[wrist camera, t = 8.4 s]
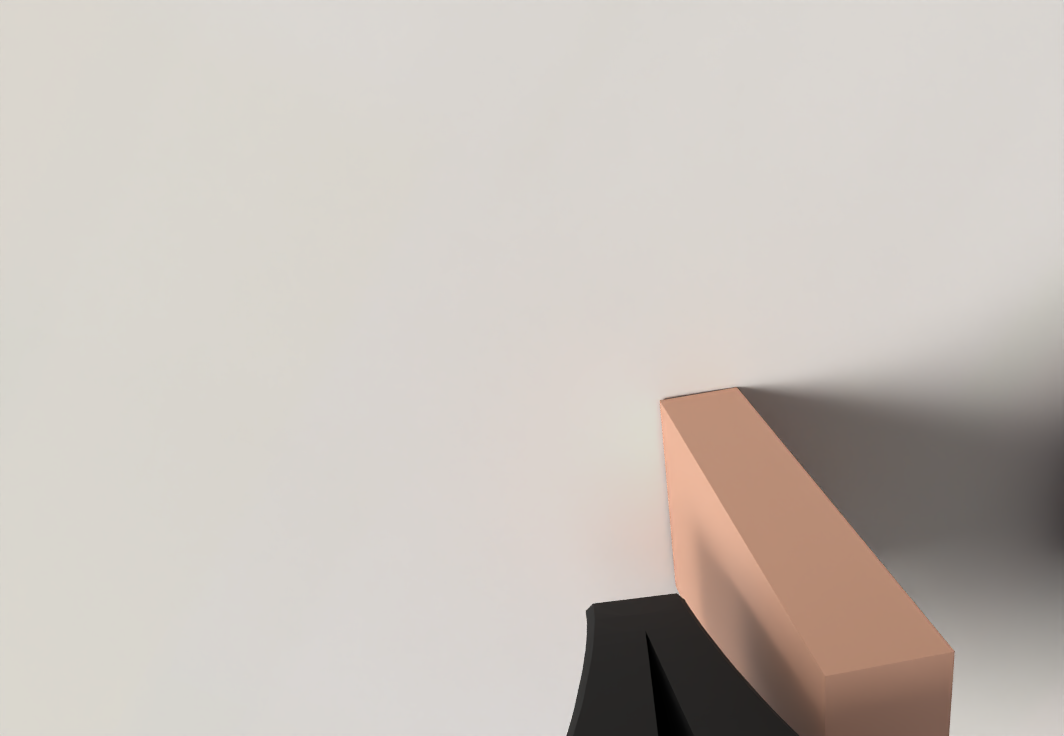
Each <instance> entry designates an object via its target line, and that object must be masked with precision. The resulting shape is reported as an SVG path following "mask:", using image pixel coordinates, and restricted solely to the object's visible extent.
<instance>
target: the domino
mask: <svg viewBox="0 0 1064 736" xmlns="http://www.w3.org/2000/svg"><path fill="white" fill-rule="evenodd" d="M660 409H661V420H662V432H663V444H664V455H665V467H666V478H667V490H668V501H669V513H670V525H671V536H672V548H673V559H674V571H675V582H676V587H677V589H678V592H679V594H680V596H681V597H682V598H683V599H685V601H686V603H687V604H688V606H689V607H690V609H691V610H692V612H693V613H694V615H695V616H696V618H697V619H698V620H699V622H700V623H701V625H702V626H703V627H704V629H705V630H706V631H707V633H708V634H709V635H710V637H711V638H712V639H713V640H714V642H715V643H716V644H717V645H718V647H719V648H720V649H721V651H722V652H723V653H724V654H725V656H726V657H727V658H728V659H729V660H730V662H731V663H732V664H733V665H734V666H735V668H736V669H737V670H738V671H739V672H740V673H741V674H742V675H743V677H744V678H745V679H746V680H747V681H748V682H749V683H750V685H751V686H752V687H753V688H754V689H755V690H756V691H757V692H758V694H759V695H760V696H761V697H762V698H763V699H764V700H765V701H766V702H767V703H768V704H769V705H770V706H771V708H772V709H773V710H774V711H775V712H776V713H777V714H778V715H779V716H780V717H781V718H782V719H783V720H784V721H785V722H786V723H787V724H788V725H789V726H790V727H791V728H792V729H793V730H794V731H795V732H796V733H797V734H798V735H799V736H949V728H950V712H951V697H952V682H953V667H954V652H955V651H954V650H953V649H952V648H951V647H950V645H949V644H948V643H947V642H946V641H945V639H944V638H943V637H942V636H941V634H940V633H939V632H938V631H937V630H936V628H935V627H934V626H933V625H932V624H931V622H930V621H929V620H928V619H927V617H926V616H925V615H924V614H923V613H922V611H921V610H920V609H919V608H918V607H917V605H916V604H915V603H914V602H913V600H912V599H911V598H910V597H909V596H908V594H907V593H906V592H905V591H904V590H903V588H902V587H901V586H900V585H899V584H898V582H897V581H896V580H895V579H894V577H893V576H892V575H891V574H890V573H889V571H888V570H887V569H886V568H885V567H884V565H883V564H882V563H881V562H880V560H879V559H878V558H877V557H876V556H875V554H874V553H873V552H872V551H871V550H870V548H869V547H868V546H867V545H866V543H865V542H864V541H863V540H862V539H861V537H860V536H859V535H858V534H857V533H856V531H855V530H854V529H853V528H852V526H851V525H850V524H849V523H848V522H847V520H846V519H845V518H844V517H843V516H842V514H841V513H840V512H839V511H838V509H837V508H836V507H835V506H834V505H833V503H832V502H831V501H830V500H829V499H828V497H827V496H826V495H825V494H824V492H823V491H822V490H821V489H820V488H819V486H818V485H817V484H816V483H815V482H814V480H813V479H812V478H811V477H810V475H809V474H808V473H807V472H806V471H805V469H804V468H803V467H802V466H801V465H800V463H799V462H798V461H797V460H796V458H795V457H794V456H793V455H792V454H791V452H790V451H789V450H788V449H787V448H786V446H785V445H784V444H783V443H782V441H781V440H780V439H779V438H778V437H777V435H776V434H775V433H774V432H773V431H772V429H771V428H770V427H769V426H768V424H767V423H766V422H765V421H764V420H763V418H762V417H761V416H760V415H759V414H758V412H757V411H756V410H755V409H754V407H753V406H752V405H751V404H750V403H749V401H748V400H747V399H746V398H745V397H744V395H743V394H742V393H741V392H740V390H739V389H738V388H737V387H735V388H729V389H724V390H718V391H712V392H706V393H700V394H694V395H689V396H683V397H677V398H671V399H665V400H660Z"/></svg>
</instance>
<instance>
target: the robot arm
mask: <svg viewBox="0 0 1064 736" xmlns="http://www.w3.org/2000/svg"><path fill="white" fill-rule="evenodd" d="M586 617H587V641H586V651H585V657H584V664H583V671H582V676H581V680H580V685H579V689H578V694H577V699H576V703H575V708H574V712H573V716H572V719H571V723H570V726H569V729H568V733H567V736H799V735H798V734H797V733H796V732H795V731H794V730H793V729H792V728H791V727H790V726H789V725H788V724H787V723H786V722H785V721H784V720H783V719H782V718H781V717H780V716H779V715H778V714H777V713H776V712H775V711H774V710H773V709H772V708H771V706H770V705H769V704H768V703H767V702H766V701H765V700H764V699H763V698H762V697H761V696H760V695H759V694H758V692H757V691H756V690H755V689H754V688H753V687H752V686H751V685H750V683H749V682H748V681H747V680H746V679H745V678H744V677H743V675H742V674H741V673H740V672H739V671H738V670H737V669H736V668H735V666H734V665H733V664H732V663H731V662H730V660H729V659H728V658H727V657H726V656H725V654H724V653H723V652H722V651H721V649H720V648H719V647H718V645H717V644H716V643H715V642H714V640H713V639H712V638H711V637H710V635H709V634H708V633H707V631H706V630H705V629H704V627H703V626H702V625H701V623H700V622H699V620H698V619H697V618H696V616H695V615H694V613H693V612H692V610H691V609H690V607H689V606H688V604H687V603H686V601H685V599H683V598H682V597H681V596H679V595H678V594H677V593H676V594H668V595H660V596H652V597H644V598H635V599H627V600H619V601H611V602H603V603H595V604H592V605H591V606H590V607H589V608H588V609H587V610H586Z"/></svg>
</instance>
